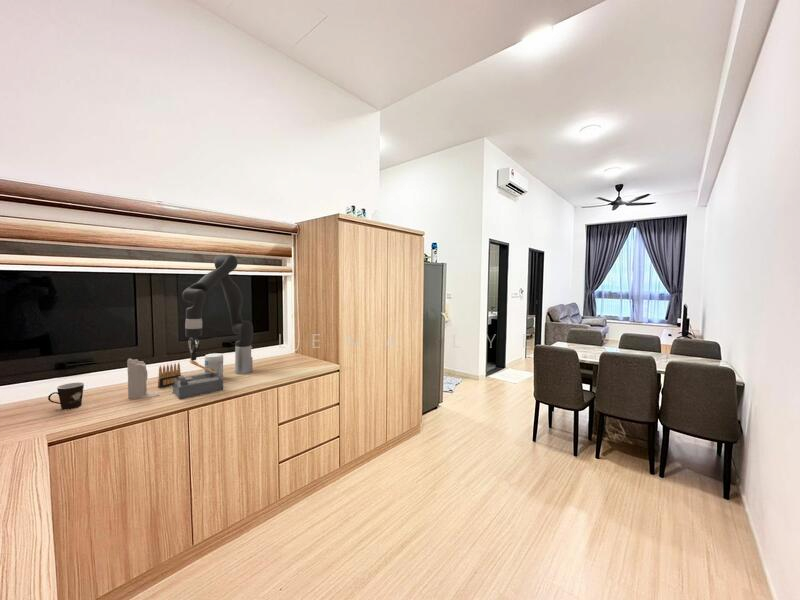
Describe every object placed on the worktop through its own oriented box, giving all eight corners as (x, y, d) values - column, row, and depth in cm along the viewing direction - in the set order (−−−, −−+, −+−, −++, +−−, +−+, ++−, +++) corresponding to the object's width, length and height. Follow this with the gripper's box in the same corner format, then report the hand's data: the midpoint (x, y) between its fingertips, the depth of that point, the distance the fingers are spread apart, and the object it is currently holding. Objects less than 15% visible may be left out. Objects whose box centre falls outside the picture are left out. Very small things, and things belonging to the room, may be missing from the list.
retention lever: (213, 373, 180) (215, 370, 180) (216, 374, 177) (218, 372, 177) (188, 361, 171) (190, 359, 171) (190, 363, 168) (192, 360, 168)
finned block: (215, 383, 185) (215, 367, 184) (223, 390, 175) (223, 373, 175) (172, 391, 171) (172, 374, 170) (179, 399, 161) (178, 381, 160)
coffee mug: (83, 401, 155) (82, 381, 154) (86, 406, 149) (85, 385, 148) (47, 409, 146) (46, 387, 145) (48, 414, 140) (47, 391, 139)
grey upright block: (161, 396, 165) (161, 357, 163) (126, 400, 158) (125, 359, 157) (163, 391, 171) (163, 354, 170) (130, 395, 164) (129, 356, 163)
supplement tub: (201, 381, 188) (200, 356, 187) (210, 376, 197) (210, 352, 196) (217, 382, 188) (217, 357, 187) (226, 377, 198) (226, 353, 197)
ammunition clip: (159, 388, 176) (158, 366, 175) (157, 387, 177) (157, 365, 176) (181, 383, 185) (181, 362, 184) (180, 382, 186) (179, 361, 185)
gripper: (205, 328, 168) (205, 361, 168) (198, 325, 177) (198, 356, 178) (188, 329, 162) (188, 363, 163) (182, 326, 171) (182, 358, 172)
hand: (193, 359), depth 170 cm, fingers closed
